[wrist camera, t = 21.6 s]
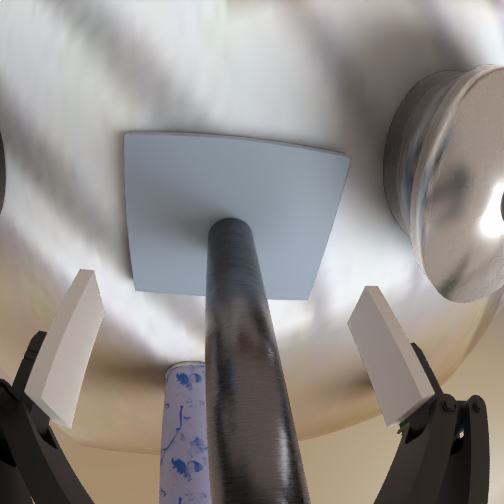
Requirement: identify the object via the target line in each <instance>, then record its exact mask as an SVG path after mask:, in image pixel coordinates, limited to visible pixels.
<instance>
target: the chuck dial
mask: <svg viewBox="0 0 504 504" xmlns="http://www.w3.org/2000/svg"><path fill="white" fill-rule="evenodd" d="M410 234H411V243H412V247H413V251H414V255H415V258H416V260H417V262H418V264H419V267H420V268H421V269H422V271H423V272H424V274H425V275H426V276H427V278H428V279H429V280H430V282H431V283H432V284H433V285H434V287H435V288H436V289H437V291H438V292H439V293H440V294H441V295H442V296H443V297H444V298H446V299H448V300H450V301H453V302H458V303H466V302H472V301H476V300H479V299H481V298H484V297H486V296H488V295H490V294H491V293H493V292H495V291H496V290H498V289H499V288H500V287H502V286H503V285H504V66H500V65H492V64H489V65H482V66H479V67H477V68H474V69H472V70H470V71H469V72H467V73H466V74H465V75H463V76H462V77H461V78H460V79H459V80H458V81H457V82H456V83H455V84H454V85H453V86H452V87H451V89H450V90H449V91H448V93H447V94H446V96H445V97H444V99H443V100H442V102H441V104H440V105H439V107H438V109H437V111H436V113H435V115H434V117H433V119H432V121H431V124H430V126H429V129H428V131H427V133H426V136H425V139H424V142H423V145H422V148H421V151H420V154H419V158H418V163H417V167H416V171H415V175H414V181H413V187H412V193H411V204H410Z"/></svg>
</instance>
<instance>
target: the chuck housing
mask: <svg viewBox="0 0 504 504" xmlns="http://www.w3.org/2000/svg"><path fill="white" fill-rule="evenodd" d="M465 74H466V72H459V71H441V72H436V73H434V74H431V75H429V76H427V77H425V78H424V79H423V80H421V81H420V82H418V83H417V84H416V85H415V86H414V87H413V88H412V89H411V90H410V91H409V93H408V94H407V95H406V97H405V98H404V99H403V101H402V102H401V104H400V106H399V108H398V109H397V111H396V114H395V116H394V118H393V121H392V123H391V126H390V129H389V133H388V136H387V141H386V146H385V151H384V161H383V179H384V189H385V194H386V198H387V202H388V205H389V208H390V211H391V213H392V215H393V217H394V219H395V220H396V222H397V223H398V224H399V226H400V227H401V228H402V229H403V230H404V231H405V233H406V234H407V235H408V236H409V237H410V238H411V234H410V204H411V193H412V187H413V181H414V175H415V171H416V167H417V163H418V158H419V154H420V151H421V148H422V145H423V142H424V139H425V136H426V133H427V131H428V129H429V126H430V124H431V121H432V119H433V117H434V115H435V113H436V111H437V109H438V107H439V105H440V104H441V102H442V100H443V99H444V97H445V96H446V94H447V93H448V91H449V90H450V89H451V87H452V86H453V85H454V84H455V83H456V82H457V81H458V80H459V79H460V78H461V77H462V76H463V75H465Z"/></svg>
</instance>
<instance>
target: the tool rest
mask: <svg viewBox="0 0 504 504" xmlns="http://www.w3.org/2000/svg"><path fill="white" fill-rule="evenodd" d="M350 162H351V158H350V157H349V156H347V155H346V154H344V153H340V152H335V151H330V150H325V149H320V148H315V147H309V146H303V145H297V144H291V143H285V142H278V141H271V140H264V139H256V138H247V137H238V136H228V135H216V134H203V133H185V132H150V131H134V132H128V133H127V134H125V135H124V183H125V202H126V217H127V228H128V239H129V248H130V256H131V264H132V272H133V279H134V285H135V291H144V292H156V293H168V294H181V295H195V296H206V271H207V245H208V233H209V230H210V228H211V227H212V226H213V225H214V224H215V223H216V222H217V221H219V220H221V219H224V218H238V219H241V220H243V221H244V222H246V223H247V224H248V225H249V227H250V228H251V230H252V234H253V238H254V243H255V247H256V252H257V256H258V261H259V265H260V270H261V274H262V279H263V283H264V288H265V292H266V297H267V299H276V300H308V298H309V295H310V292H311V289H312V287H313V284H314V281H315V278H316V275H317V272H318V269H319V266H320V263H321V260H322V257H323V254H324V251H325V248H326V245H327V242H328V238H329V235H330V232H331V229H332V226H333V222H334V219H335V216H336V212H337V209H338V205H339V202H340V198H341V195H342V191H343V188H344V184H345V181H346V177H347V173H348V169H349V166H350Z"/></svg>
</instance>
